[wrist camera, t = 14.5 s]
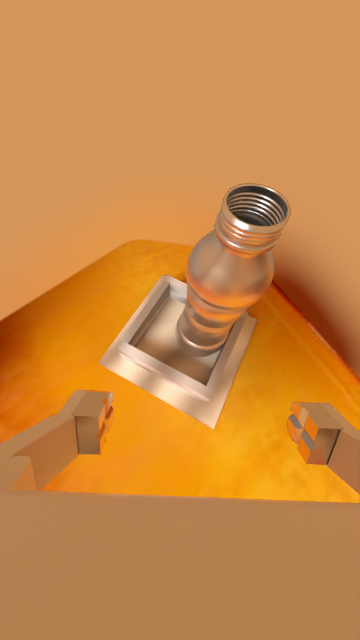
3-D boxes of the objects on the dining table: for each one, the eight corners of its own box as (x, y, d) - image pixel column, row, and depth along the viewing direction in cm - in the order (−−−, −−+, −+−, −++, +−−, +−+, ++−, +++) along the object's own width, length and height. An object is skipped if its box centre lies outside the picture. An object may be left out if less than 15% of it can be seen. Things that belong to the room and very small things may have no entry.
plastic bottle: (165, 327, 30) (173, 181, 12) (208, 309, 31) (271, 158, 13) (187, 370, 27) (237, 269, 9) (231, 348, 29) (344, 228, 11)
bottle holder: (100, 364, 28) (89, 353, 24) (162, 279, 35) (161, 259, 31) (212, 428, 25) (220, 428, 21) (255, 322, 32) (267, 307, 28)
